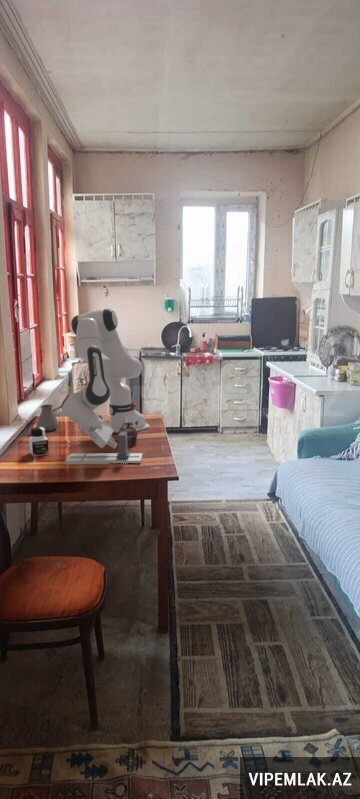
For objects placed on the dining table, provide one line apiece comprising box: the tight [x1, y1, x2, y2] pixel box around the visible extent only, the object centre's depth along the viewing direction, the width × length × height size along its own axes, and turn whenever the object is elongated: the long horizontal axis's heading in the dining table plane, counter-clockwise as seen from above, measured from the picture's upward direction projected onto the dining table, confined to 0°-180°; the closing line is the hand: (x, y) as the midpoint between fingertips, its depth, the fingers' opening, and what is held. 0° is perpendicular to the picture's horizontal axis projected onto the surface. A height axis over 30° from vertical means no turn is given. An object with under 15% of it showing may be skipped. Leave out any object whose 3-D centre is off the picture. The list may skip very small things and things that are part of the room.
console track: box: [64, 452, 144, 465], centre depth 214 cm, size 32×10×2 cm, turn 89°
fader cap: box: [117, 432, 131, 458], centre depth 213 cm, size 5×7×10 cm
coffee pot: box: [36, 404, 61, 432], centre depth 267 cm, size 21×12×15 cm, turn 115°
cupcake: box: [117, 422, 139, 447], centre depth 238 cm, size 10×10×10 cm
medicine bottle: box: [28, 426, 50, 457], centre depth 224 cm, size 7×7×12 cm
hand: (116, 446), depth 213 cm, fingers closed
